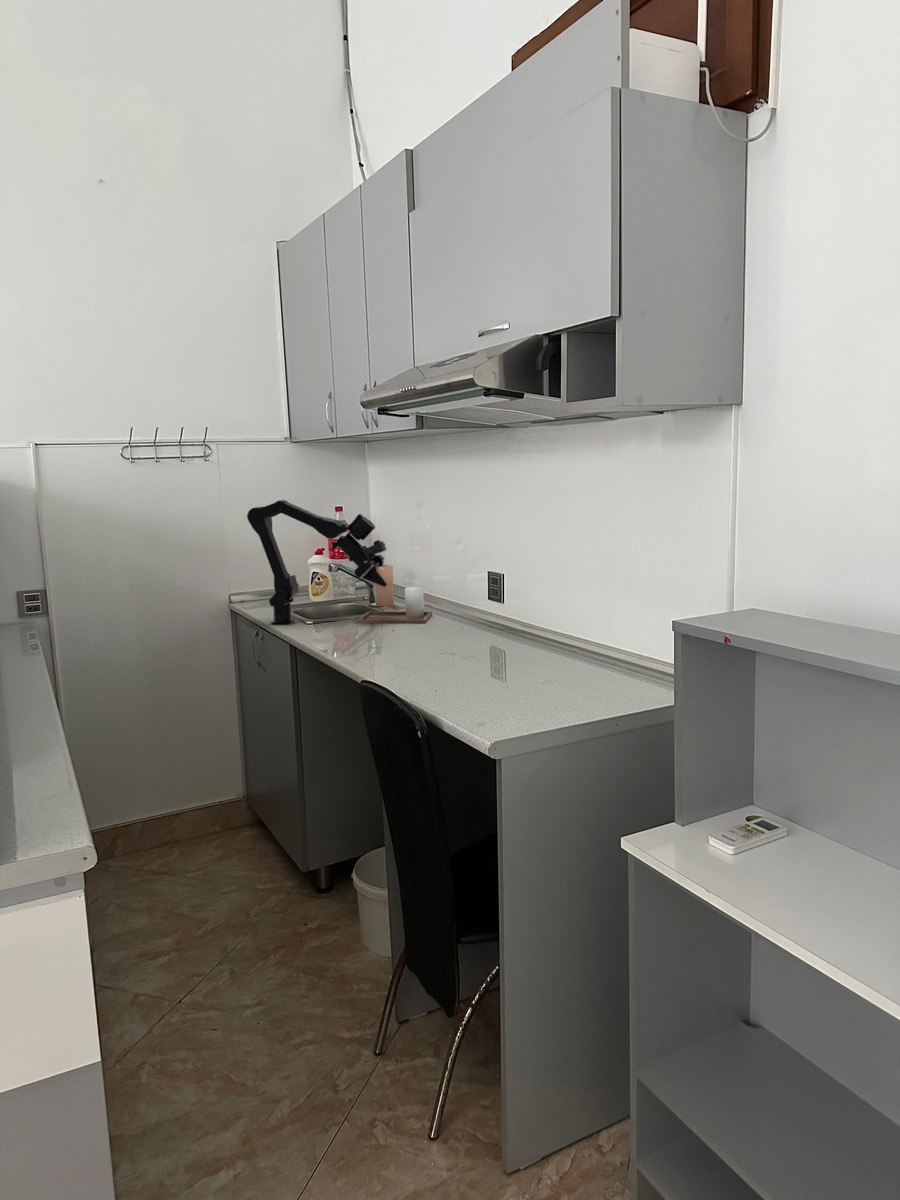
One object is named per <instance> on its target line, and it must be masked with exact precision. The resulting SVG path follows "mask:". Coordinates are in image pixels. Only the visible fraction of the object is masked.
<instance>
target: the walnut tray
mask: <svg viewBox="0 0 900 1200" xmlns="http://www.w3.org/2000/svg"><path fill="white" fill-rule="evenodd" d="M432 616H433V611H424V618H420V619H408V618H406V611H367V612H366V613H364V614H363V615H362V616H360V617H359V618H357V620H356V623H357V624H359V625H360V624H362V625H363V624H366V625H367V624H373V625H374V624H382V625H383V624H387V625H388V624H391V625H392V624H397V625H399V624H401V625H402V624H403V625H405V624H407V625H408V624H411V625H413V624H415V625H423V624H426V623H427V622H428V620H430V618H431V617H432Z"/></svg>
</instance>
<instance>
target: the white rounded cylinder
mask: <svg viewBox="0 0 900 1200" xmlns="http://www.w3.org/2000/svg"><path fill="white" fill-rule="evenodd" d="M404 589H405V590H404V594H405V597H404V598H405V612H406V618H408V619H420V618H424V612H425V609H424V608H425V606H424V605H425V604H424V602H425V601H424V600H425V599H424V596H425V595H424V587H423V586H421V585H420V586H419V585H412V586H405V587H404Z"/></svg>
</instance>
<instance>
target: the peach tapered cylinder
mask: <svg viewBox="0 0 900 1200" xmlns="http://www.w3.org/2000/svg"><path fill="white" fill-rule="evenodd" d="M377 572H378V573H379V574H380V576H381V577H382V578H383V579H384V581H385V582H386V584H387V585H386V586H385V587H384V586H381V585H379V584H376V583H374V602H375V603H374V604H375V606H379V607H381V606H382V607H388V606H393V605H394V604H395V603H394V601H395V600H394V598H395V596H394V594H395V593H394V565H392V564H391V565H390V564H383V565H378V566H377Z"/></svg>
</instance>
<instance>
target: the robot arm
mask: <svg viewBox="0 0 900 1200" xmlns="http://www.w3.org/2000/svg"><path fill="white" fill-rule="evenodd" d="M280 514H283V515H284V516H287V517H289V518H292V519H295V520H296V521H298V522H300V523H303V524H305V525H307V526H309V527H311V528H313V529H314V530H316V531H317V532H318V534H321V535H322V536H323V537H324V538H326V539H330V540H332V539H336V538H338V539H337V540H336V541H332V542H331V550H332V551H336V550H337V549H338V548H339V549H340V551H342V552H343V553H344V554H345V555H346V556H347V558H348V561H350V562H353V564H354V565H356V566H357V568H355V570H354V575H355V576H356V578H357V579H362V580H366V581H369V582H372V583H374V584H375V583H376V584H379V585H381V586H384V587H385V586H386V585H387V584H386V582H385V581H384V579H383V578H382V577H381V576H380V574H379V573H378V572H377V566H378V565H384V563H385V557H384V556H383V555H382V554H380V553H383V552H385V551H387V548H386V543H385V542H384V541H383V540H382V541H381V540H379V539H377V540H375V541H373V545H371V546H369V547H368V546H366V545H362V544H361V543H360V542H359V541H360V540H362V541H365V540H366V539H367V537H368V536H369V535H370V534H371V533H372V532H373V531H374V530H375V529H376V525H375V524H374V523H373V521H371V520H370V519H368V518H367V517H366V516H363V514H361V513H359V514H358V515H356V517H355V518H354V519H353V520H352V522H351V523H350V524H349V523H348V524H347V523H345V524H344V523H342V521H340V520H337V519H334V518H330V517H325V516H320V515H318V514H316V513H313V512H311V511H309V510H307V509H304V508H302V507H300V506H297V505H295V504H293V503H291V502H289V501H288V500H286V499H279V500H277V501H275V502H273V503H269V504H267V505H265V506H257V507H252V508H251V509H250V510H248V512H247V514H246V517H247V521H248V522H249V524H250V526H251V528H252V530H254V531H255V533H256V534H257V535H258V537H259V539H260V541H261V544H262V545H261V546H262V547H263V551H264V553H265V556H266V558H267V560H268V561H267V562H268V564H269V567H270V569H271V572H272V574H273V575H272V576H273V587H274V594H273V595H272V596H271V598H270V599H269V600H268V602H269V605H270V606H271V607H272V609H273V621H271V622H270V624H271V623H284V624H283V625H290V624H292V623H293V622H295V621H296V619H295V618H292V607H291V605H292V603H293V601H294V599H295V598H296V597H297V595H298V593H299V587H300V584H299V583H298V582H297V577H296V575H295V574H293V575H291V574H290V573H289V572H288V570H287V567H286V565H285V562H284V559H283V557H282V554H281V552H280V549H279V546H278V543H277V541H276V537H275V535H274V533H273V519H272V518H273V517H276V516H278V515H280ZM345 533H346V535H343V534H345ZM291 622H292V623H291ZM289 623H290V624H289Z"/></svg>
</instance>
